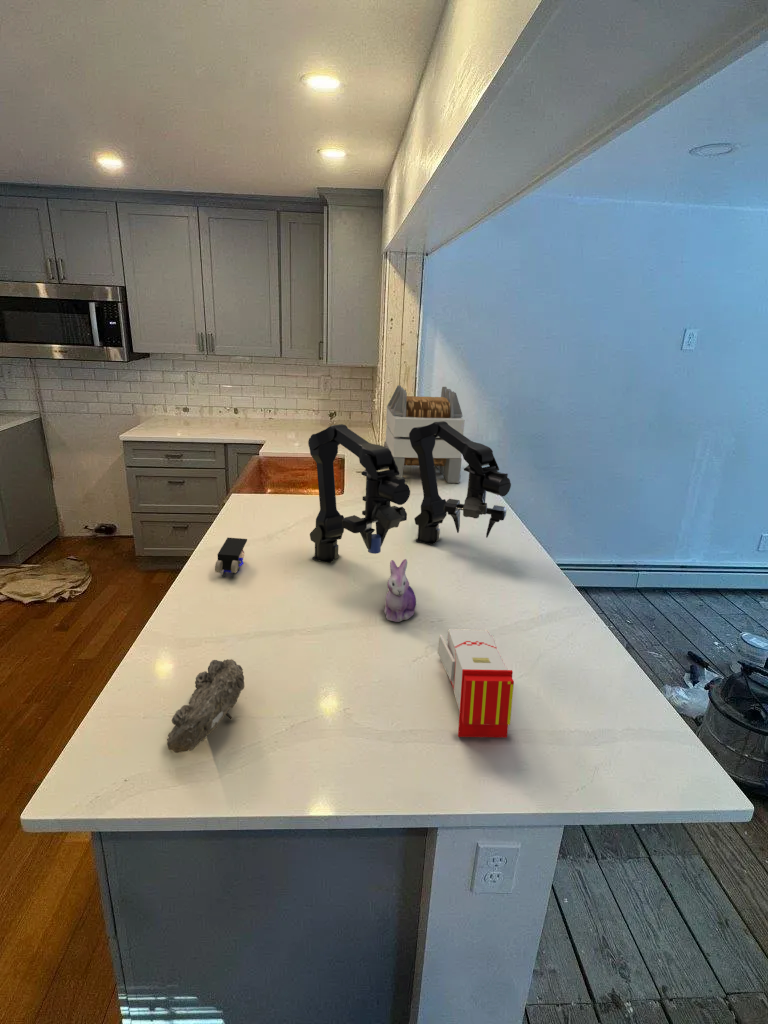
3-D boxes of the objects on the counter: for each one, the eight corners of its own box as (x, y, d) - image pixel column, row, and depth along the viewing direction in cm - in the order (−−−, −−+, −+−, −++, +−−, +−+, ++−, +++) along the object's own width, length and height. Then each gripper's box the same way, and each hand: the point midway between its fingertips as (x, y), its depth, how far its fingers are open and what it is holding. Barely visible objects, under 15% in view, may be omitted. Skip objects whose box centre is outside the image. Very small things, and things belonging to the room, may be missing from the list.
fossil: (192, 660, 117) (244, 628, 112) (224, 691, 120) (276, 661, 115) (142, 746, 98) (202, 712, 93) (182, 779, 101) (242, 748, 96)
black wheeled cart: (238, 584, 162) (249, 557, 175) (236, 562, 158) (247, 536, 172) (215, 584, 161) (227, 556, 175) (212, 561, 158) (225, 535, 171)
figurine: (392, 627, 141) (395, 572, 136) (374, 608, 149) (376, 556, 144) (425, 619, 145) (429, 566, 140) (405, 601, 154) (408, 550, 149)
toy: (488, 613, 130) (523, 677, 101) (484, 667, 133) (517, 744, 104) (435, 612, 130) (455, 676, 101) (432, 666, 133) (451, 743, 103)
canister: (365, 550, 158) (365, 535, 157) (375, 547, 160) (375, 532, 159) (373, 554, 156) (373, 539, 154) (383, 551, 158) (383, 536, 156)
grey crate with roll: (382, 463, 289) (386, 382, 275) (445, 464, 293) (451, 384, 279) (390, 482, 257) (394, 392, 243) (460, 483, 261) (468, 394, 247)
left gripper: (367, 509, 141) (365, 566, 146) (422, 496, 152) (418, 549, 158) (341, 497, 149) (340, 551, 154) (395, 486, 160) (392, 537, 165)
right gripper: (441, 490, 169) (437, 538, 174) (504, 499, 164) (498, 549, 169) (449, 481, 179) (445, 527, 184) (509, 489, 174) (503, 536, 179)
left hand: (374, 547), depth 158 cm, fingers closed on canister, 3 cm apart
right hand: (472, 534), depth 179 cm, fingers open, 9 cm apart
